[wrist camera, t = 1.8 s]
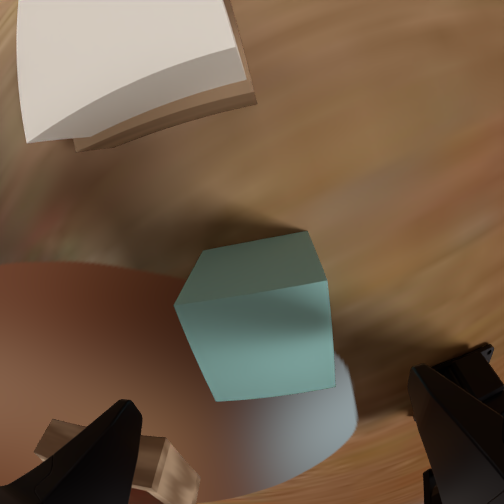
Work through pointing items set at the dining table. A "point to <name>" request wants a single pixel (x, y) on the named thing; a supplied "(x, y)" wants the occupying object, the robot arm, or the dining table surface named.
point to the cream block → (116, 60)
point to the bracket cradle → (139, 467)
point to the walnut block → (178, 107)
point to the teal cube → (260, 318)
